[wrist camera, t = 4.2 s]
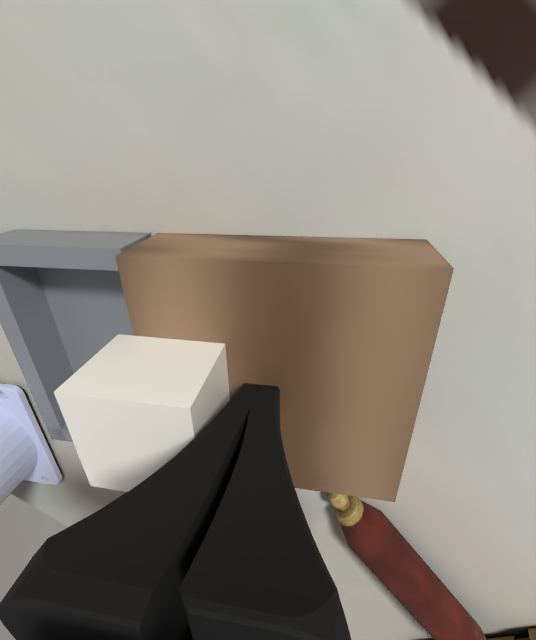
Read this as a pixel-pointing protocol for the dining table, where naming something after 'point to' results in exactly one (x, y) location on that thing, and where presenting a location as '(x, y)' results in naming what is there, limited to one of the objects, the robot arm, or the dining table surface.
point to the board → (307, 337)
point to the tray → (61, 306)
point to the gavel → (406, 572)
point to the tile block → (141, 405)
